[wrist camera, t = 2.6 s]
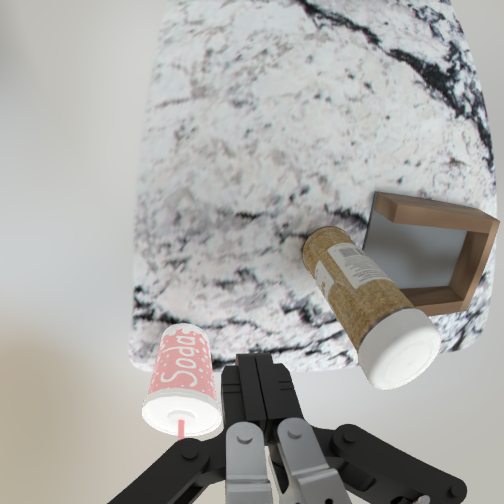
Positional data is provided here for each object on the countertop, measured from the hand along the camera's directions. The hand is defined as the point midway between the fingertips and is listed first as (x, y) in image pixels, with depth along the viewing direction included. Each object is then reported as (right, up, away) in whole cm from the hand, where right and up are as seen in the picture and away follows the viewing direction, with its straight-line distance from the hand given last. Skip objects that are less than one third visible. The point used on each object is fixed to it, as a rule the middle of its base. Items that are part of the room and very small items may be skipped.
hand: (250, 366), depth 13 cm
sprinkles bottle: (+6, +5, +12) cm, 15 cm away
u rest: (+17, +5, +14) cm, 23 cm away
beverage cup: (-6, -3, +15) cm, 16 cm away
